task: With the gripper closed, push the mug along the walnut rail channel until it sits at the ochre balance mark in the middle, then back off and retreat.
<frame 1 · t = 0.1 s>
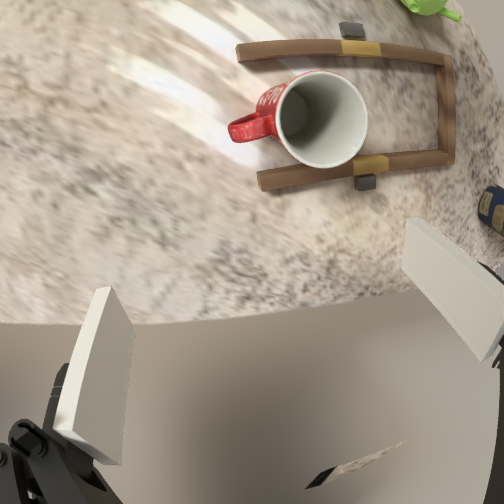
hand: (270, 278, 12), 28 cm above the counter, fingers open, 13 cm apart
beam slot: (359, 106, 35), on the counter
canister: (487, 201, 48), on the counter
mug: (270, 113, 34), on the counter
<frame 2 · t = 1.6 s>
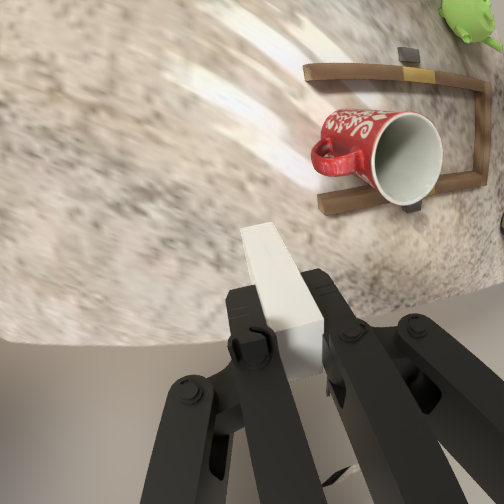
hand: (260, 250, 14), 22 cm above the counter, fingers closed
beam slot: (412, 131, 34), on the counter
teapot: (451, 18, 25), on the counter
mug: (333, 136, 34), on the counter
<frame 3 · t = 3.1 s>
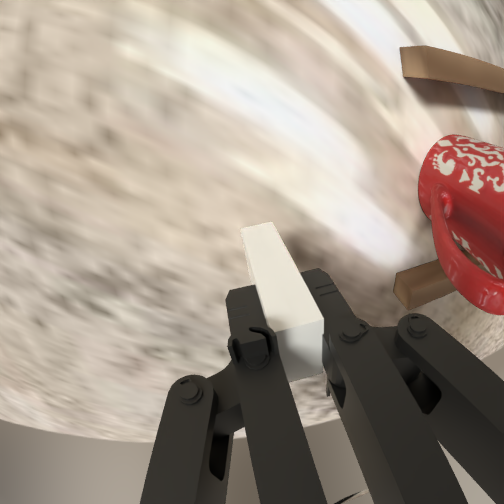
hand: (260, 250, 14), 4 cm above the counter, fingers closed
mug: (433, 179, 18), on the counter
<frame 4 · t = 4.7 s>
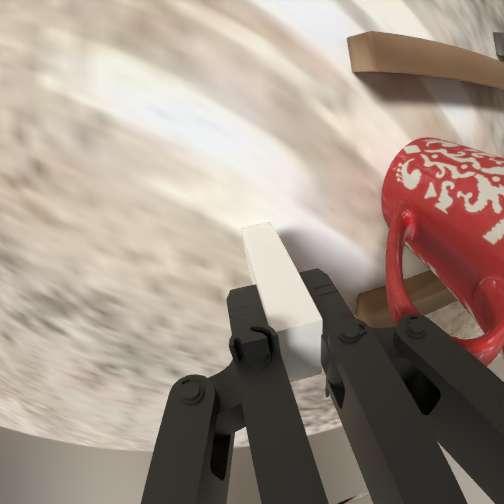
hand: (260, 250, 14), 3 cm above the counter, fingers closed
mug: (401, 191, 17), on the counter, touching hand
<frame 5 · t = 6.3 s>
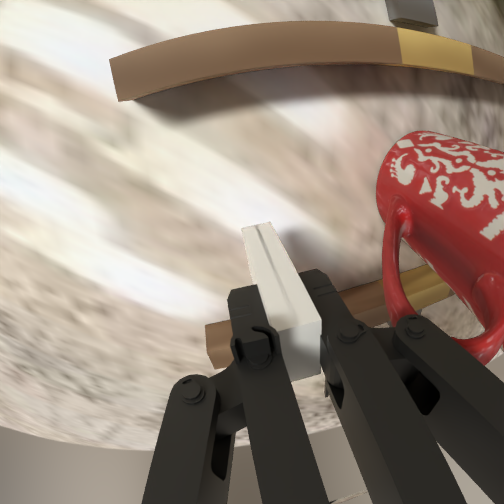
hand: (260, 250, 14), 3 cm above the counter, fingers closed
beam slot: (418, 179, 17), on the counter
mug: (396, 186, 17), on the counter, touching hand
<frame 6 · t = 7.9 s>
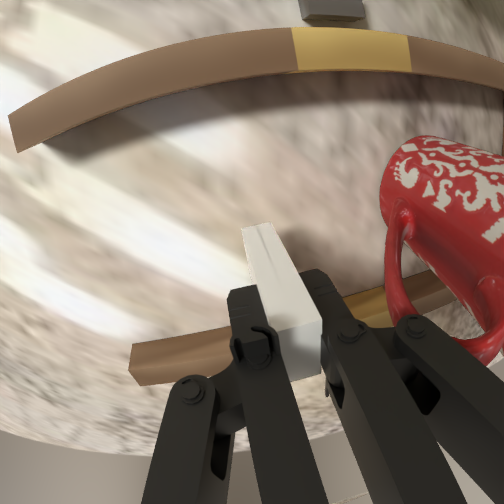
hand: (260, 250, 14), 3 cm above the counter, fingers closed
beam slot: (348, 200, 16), on the counter
mug: (399, 190, 17), on the counter, touching hand
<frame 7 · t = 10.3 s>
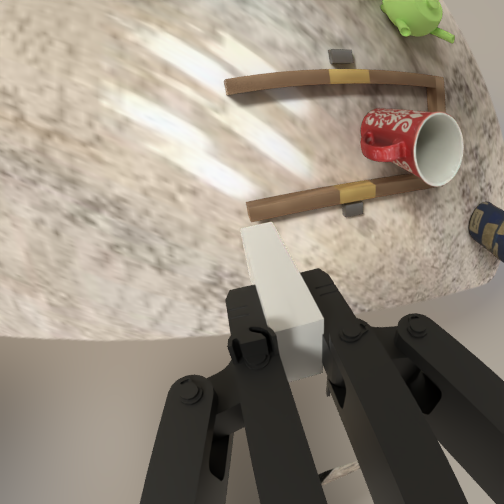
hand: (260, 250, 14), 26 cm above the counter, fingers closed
beam slot: (347, 134, 37), on the counter
canister: (478, 218, 50), on the counter
teapot: (397, 13, 28), on the counter
mug: (370, 131, 38), on the counter
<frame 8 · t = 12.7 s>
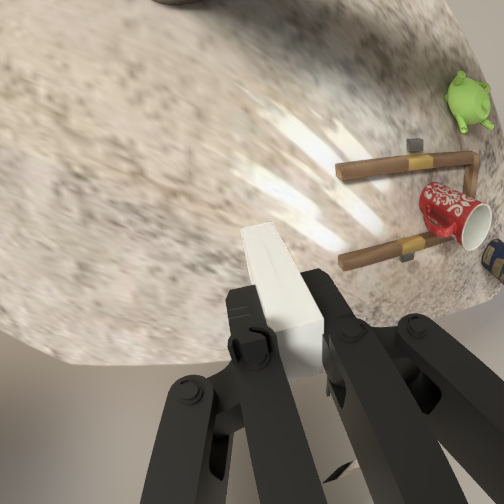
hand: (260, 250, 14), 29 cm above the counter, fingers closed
beam slot: (410, 203, 49), on the counter
canister: (489, 251, 61), on the counter
teapot: (453, 100, 39), on the counter
mug: (425, 199, 49), on the counter
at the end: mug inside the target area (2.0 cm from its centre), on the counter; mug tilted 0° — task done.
